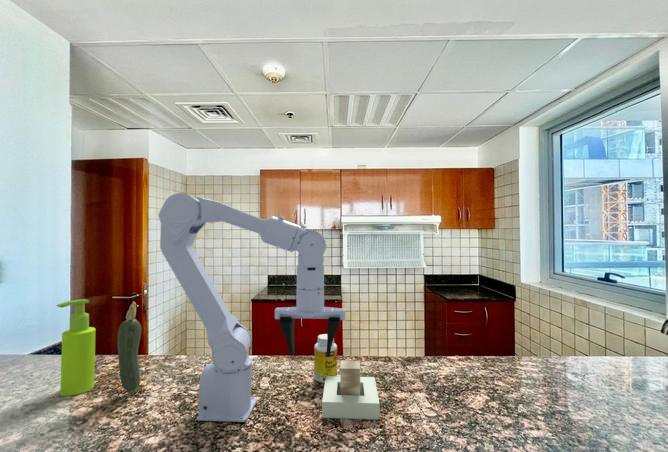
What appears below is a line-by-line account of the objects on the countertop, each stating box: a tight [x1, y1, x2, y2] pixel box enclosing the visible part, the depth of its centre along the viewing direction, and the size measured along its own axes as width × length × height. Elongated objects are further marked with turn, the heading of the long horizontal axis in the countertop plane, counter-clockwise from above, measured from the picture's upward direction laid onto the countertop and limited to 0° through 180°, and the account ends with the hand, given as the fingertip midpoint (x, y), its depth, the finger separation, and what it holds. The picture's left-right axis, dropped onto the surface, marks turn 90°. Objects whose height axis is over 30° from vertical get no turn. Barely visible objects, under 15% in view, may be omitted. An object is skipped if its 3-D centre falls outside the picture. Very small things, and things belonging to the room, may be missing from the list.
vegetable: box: [116, 300, 142, 394], centre depth 69 cm, size 4×4×20 cm
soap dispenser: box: [56, 298, 97, 397], centre depth 70 cm, size 6×7×20 cm
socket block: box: [321, 375, 381, 420], centre depth 65 cm, size 11×11×3 cm
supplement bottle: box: [313, 333, 338, 384], centre depth 77 cm, size 6×6×10 cm
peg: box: [339, 359, 361, 396], centre depth 65 cm, size 4×4×8 cm
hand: (310, 353), depth 65 cm, fingers open, 7 cm apart
